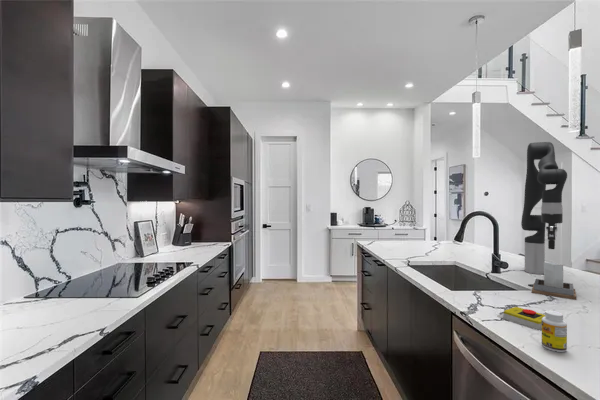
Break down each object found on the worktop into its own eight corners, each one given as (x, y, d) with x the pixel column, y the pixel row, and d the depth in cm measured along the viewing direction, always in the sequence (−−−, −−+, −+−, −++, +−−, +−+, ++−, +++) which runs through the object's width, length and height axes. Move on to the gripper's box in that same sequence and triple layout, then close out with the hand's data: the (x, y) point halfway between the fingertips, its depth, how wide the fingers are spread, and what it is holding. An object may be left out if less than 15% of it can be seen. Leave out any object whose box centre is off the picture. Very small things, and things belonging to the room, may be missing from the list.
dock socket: (533, 285, 149) (533, 278, 149) (575, 291, 139) (575, 283, 139) (531, 292, 138) (531, 284, 138) (576, 299, 128) (576, 291, 128)
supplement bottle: (537, 342, 90) (537, 308, 90) (559, 344, 89) (559, 310, 89) (547, 351, 85) (547, 315, 85) (571, 354, 84) (571, 317, 84)
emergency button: (544, 320, 97) (495, 305, 111) (544, 333, 97) (495, 317, 111) (558, 314, 102) (509, 301, 115) (558, 327, 102) (509, 313, 115)
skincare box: (563, 291, 136) (563, 264, 136) (554, 291, 136) (554, 264, 136) (552, 287, 142) (552, 261, 142) (543, 287, 142) (543, 261, 142)
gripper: (541, 211, 147) (541, 245, 147) (540, 213, 136) (540, 249, 136) (562, 212, 142) (562, 246, 142) (562, 213, 131) (562, 250, 132)
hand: (551, 247), depth 139 cm, fingers open, 8 cm apart
